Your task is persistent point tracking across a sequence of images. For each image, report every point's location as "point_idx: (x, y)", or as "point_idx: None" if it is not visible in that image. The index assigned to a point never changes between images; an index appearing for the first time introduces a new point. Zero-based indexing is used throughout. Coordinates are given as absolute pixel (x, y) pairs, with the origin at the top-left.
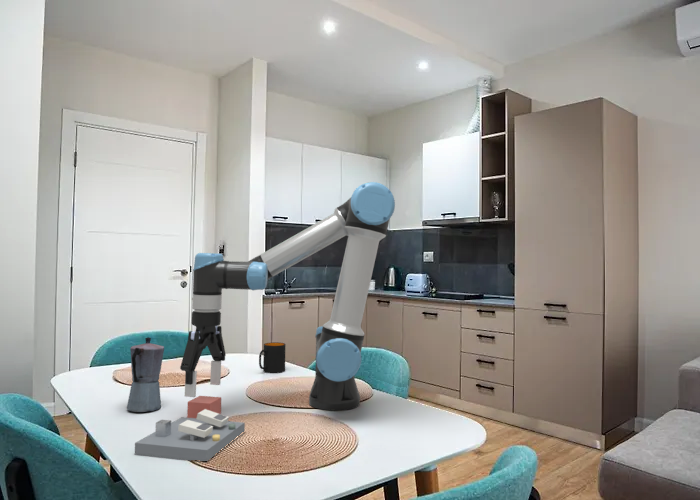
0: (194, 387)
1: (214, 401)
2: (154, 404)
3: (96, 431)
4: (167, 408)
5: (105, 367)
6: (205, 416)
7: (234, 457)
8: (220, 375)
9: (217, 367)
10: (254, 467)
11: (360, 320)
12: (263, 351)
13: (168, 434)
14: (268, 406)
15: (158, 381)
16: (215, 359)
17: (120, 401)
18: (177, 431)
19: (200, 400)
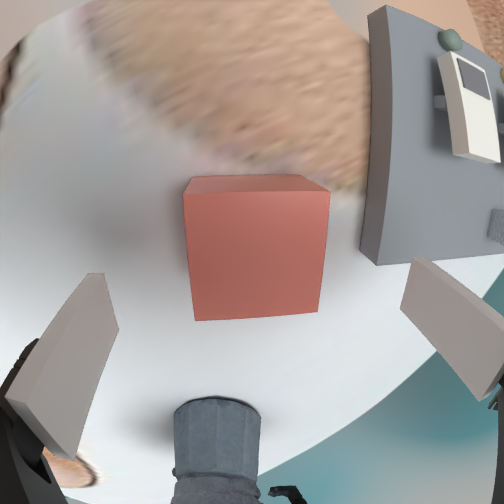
0: (457, 281)
1: (276, 191)
2: (226, 414)
3: (386, 391)
4: (183, 387)
5: (64, 493)
6: (495, 130)
7: (490, 36)
8: (63, 308)
9: (59, 376)
10: (499, 6)
11: None
12: None
13: (498, 210)
14: (24, 72)
15: (192, 472)
16: (35, 449)
17: None
18: (483, 200)
19: (283, 271)
